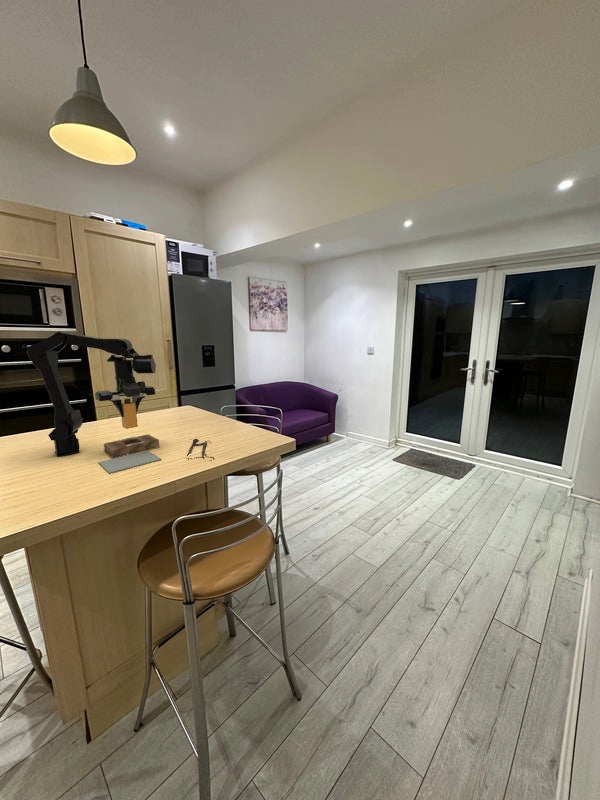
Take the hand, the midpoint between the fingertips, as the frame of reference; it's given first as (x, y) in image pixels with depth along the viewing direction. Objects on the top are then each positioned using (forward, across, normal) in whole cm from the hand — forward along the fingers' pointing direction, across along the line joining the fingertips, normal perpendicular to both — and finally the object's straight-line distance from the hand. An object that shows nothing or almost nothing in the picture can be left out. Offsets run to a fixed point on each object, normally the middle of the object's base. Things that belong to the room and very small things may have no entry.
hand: (128, 416), depth 119 cm
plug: (+4, 0, 0) cm, 4 cm away
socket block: (+13, 0, 0) cm, 13 cm away
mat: (+13, -5, -13) cm, 19 cm away
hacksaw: (+14, +18, -20) cm, 30 cm away
